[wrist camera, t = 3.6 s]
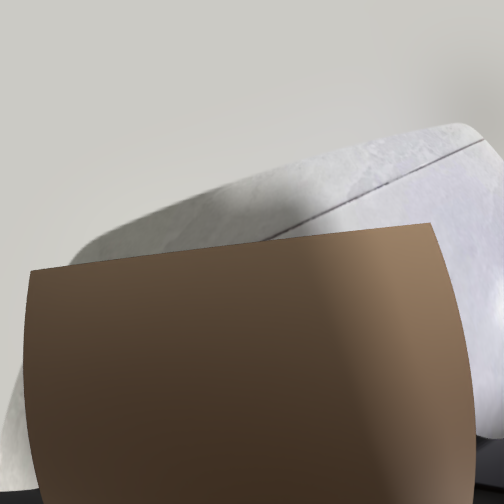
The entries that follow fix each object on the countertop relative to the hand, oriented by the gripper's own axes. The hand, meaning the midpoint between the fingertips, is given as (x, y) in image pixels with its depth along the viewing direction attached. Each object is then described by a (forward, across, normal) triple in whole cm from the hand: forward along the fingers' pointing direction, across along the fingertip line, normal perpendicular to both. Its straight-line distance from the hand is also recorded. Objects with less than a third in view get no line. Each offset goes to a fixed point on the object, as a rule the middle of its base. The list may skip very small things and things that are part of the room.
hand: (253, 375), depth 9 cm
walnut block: (+4, 0, +6) cm, 7 cm away
